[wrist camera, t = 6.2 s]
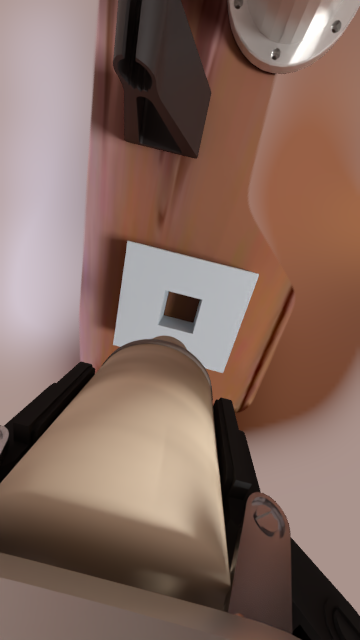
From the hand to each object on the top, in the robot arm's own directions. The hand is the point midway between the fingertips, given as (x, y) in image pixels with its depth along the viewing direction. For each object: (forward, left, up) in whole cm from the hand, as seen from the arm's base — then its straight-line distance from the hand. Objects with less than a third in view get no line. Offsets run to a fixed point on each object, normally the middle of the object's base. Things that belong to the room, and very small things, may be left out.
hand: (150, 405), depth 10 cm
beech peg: (0, 0, -5) cm, 5 cm away
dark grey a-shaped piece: (-21, -7, -21) cm, 31 cm away
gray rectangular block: (0, 0, -21) cm, 21 cm away
